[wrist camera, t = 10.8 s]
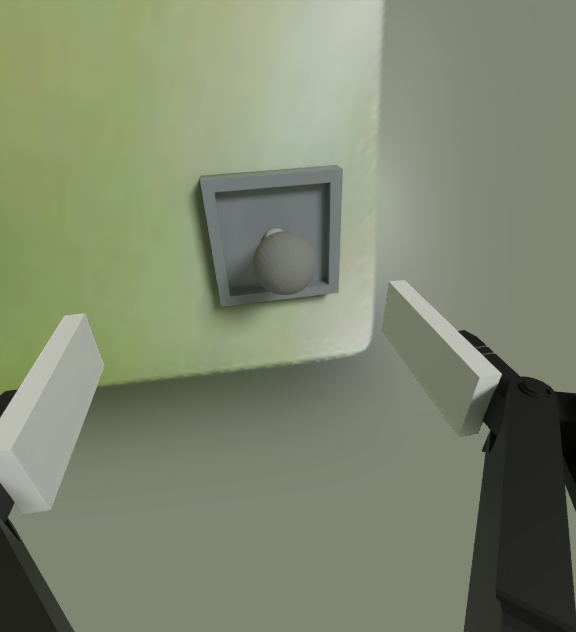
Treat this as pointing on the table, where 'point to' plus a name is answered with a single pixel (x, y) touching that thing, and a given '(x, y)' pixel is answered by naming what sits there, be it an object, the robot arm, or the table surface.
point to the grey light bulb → (284, 262)
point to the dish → (272, 226)
